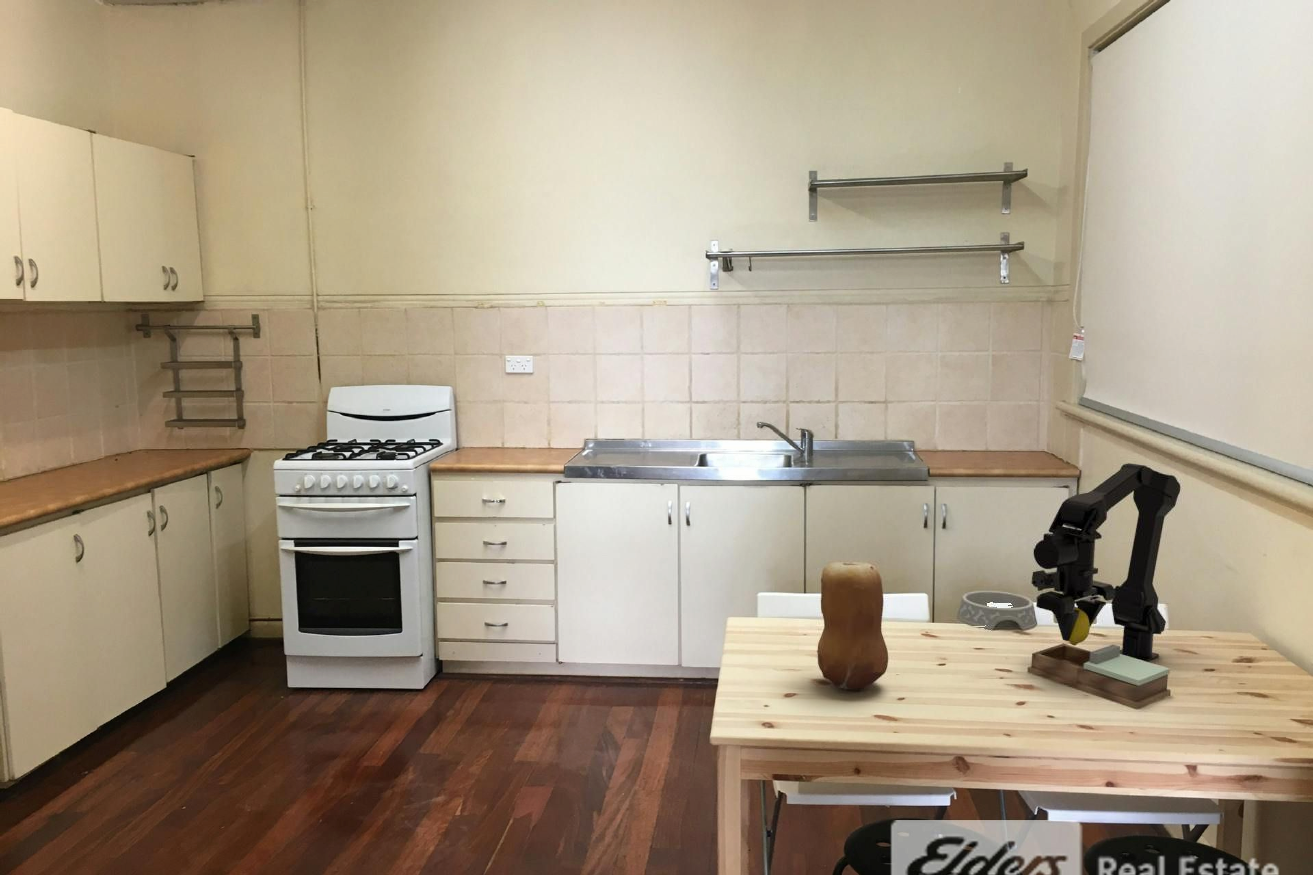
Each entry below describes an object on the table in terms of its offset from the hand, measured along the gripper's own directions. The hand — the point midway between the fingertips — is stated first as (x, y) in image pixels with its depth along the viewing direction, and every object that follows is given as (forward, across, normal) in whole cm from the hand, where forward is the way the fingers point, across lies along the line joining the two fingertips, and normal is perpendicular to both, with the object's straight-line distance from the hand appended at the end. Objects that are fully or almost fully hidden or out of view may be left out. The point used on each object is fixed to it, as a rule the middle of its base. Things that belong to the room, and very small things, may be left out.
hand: (1074, 637), depth 200 cm
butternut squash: (+8, +42, -20) cm, 48 cm away
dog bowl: (+8, -19, -32) cm, 38 cm away
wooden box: (+8, 0, +6) cm, 10 cm away
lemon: (+2, 0, 0) cm, 2 cm away
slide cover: (+3, 0, +11) cm, 12 cm away
